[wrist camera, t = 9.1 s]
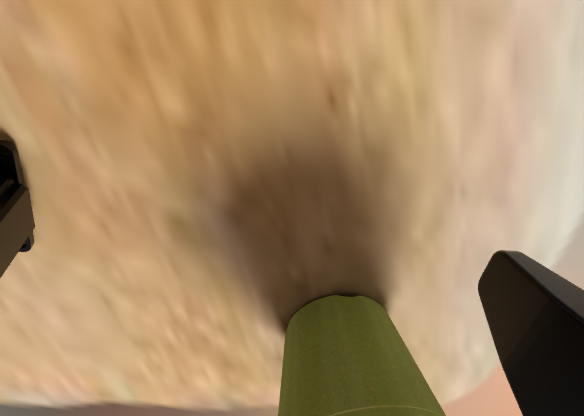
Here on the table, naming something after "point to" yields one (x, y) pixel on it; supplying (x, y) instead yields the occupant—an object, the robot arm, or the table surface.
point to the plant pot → (350, 364)
